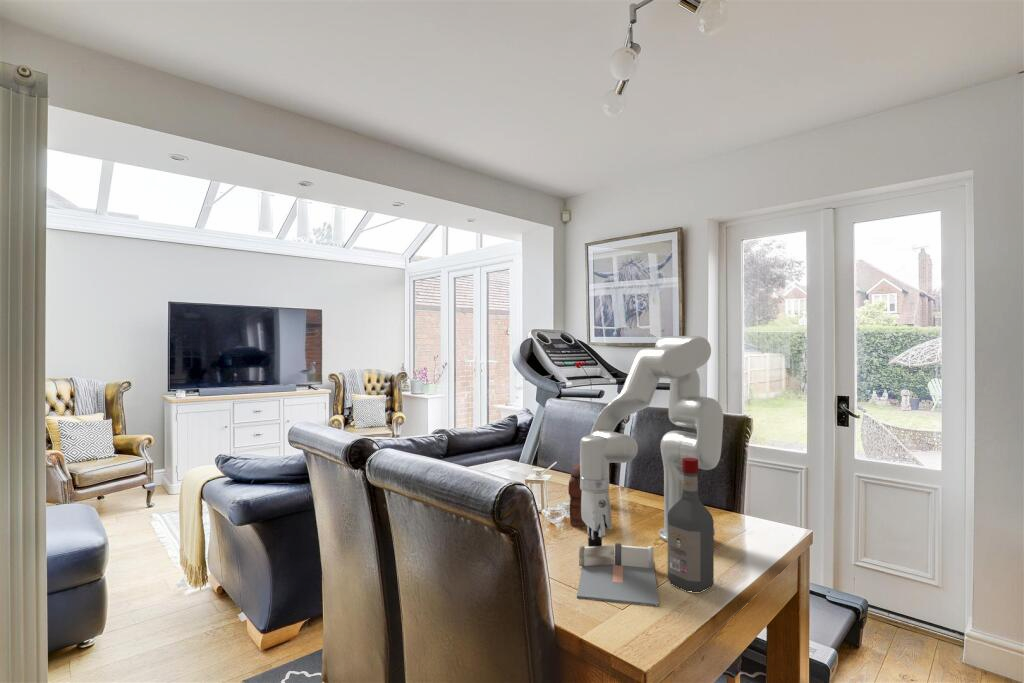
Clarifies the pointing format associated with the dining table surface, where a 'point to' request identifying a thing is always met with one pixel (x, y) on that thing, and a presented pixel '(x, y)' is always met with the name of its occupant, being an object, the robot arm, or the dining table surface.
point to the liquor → (690, 536)
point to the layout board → (622, 577)
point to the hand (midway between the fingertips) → (595, 552)
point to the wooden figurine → (575, 498)
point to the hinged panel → (596, 555)
